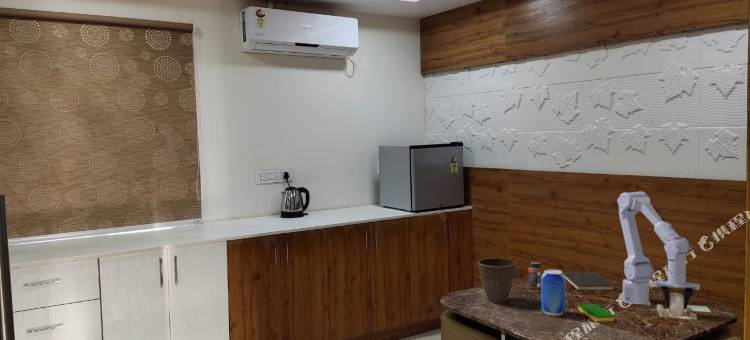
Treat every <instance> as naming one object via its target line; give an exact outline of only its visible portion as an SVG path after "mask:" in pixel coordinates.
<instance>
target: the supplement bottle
mask: <svg viewBox="0 0 750 340" xmlns="http://www.w3.org/2000/svg"><path fill="white" fill-rule="evenodd" d="M527 273H528V277H527V278H528V280H527V281H528V282H527V283H528V284H527V285H528V288H529V289H531V288H532V290H542V283H541V277H542V275H543V268H542V267H541V262H539V261H531V262H530V266H529V267H528V272H527Z"/></svg>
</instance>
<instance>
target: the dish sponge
mask: <svg viewBox="0 0 750 340" xmlns="http://www.w3.org/2000/svg"><path fill="white" fill-rule="evenodd" d="M577 306H578V308H577V310H578V311H579V310H580V311H579V312H581V313H582V312H583V313H585V314H586V315H587V316H586V315H585V314H584V315H585V316H586V317H588V316H589V317H590V318H591V320H592V321H593V320H594V321H593V322H596V323H599V322H614V321H615V315H614V314H612V313H610V312H609V311H608V310H606V309H604V308H603V307H601V306H600V305H598V304H596V303H592V304H590V303H589V304H578V305H577ZM583 313H582V314H583ZM589 317H588V318H589ZM590 318H589V319H590Z"/></svg>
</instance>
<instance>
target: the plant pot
mask: <svg viewBox="0 0 750 340" xmlns="http://www.w3.org/2000/svg"><path fill="white" fill-rule="evenodd" d="M516 264H517V263H516V261H514V260H513V259H510V258H509V259H507V258H502V257H501V258H500V257H499V258H497V257H490V258H483V259H479V261H478V268H479V269H478V271H479V273H480V279H481V282H482V286H483V289H484V292H485V294H486V298H487V300H488V301H489V303H494V304H503V303H507V302H508V298H509V296H510V293H511V291H512V286H513V283H514V277H515V271H516V266H517V265H516Z"/></svg>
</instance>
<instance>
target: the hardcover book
mask: <svg viewBox="0 0 750 340" xmlns="http://www.w3.org/2000/svg"><path fill="white" fill-rule="evenodd" d="M562 274H563V276H564V277H565V280H567V281H568V283H570V284H571V285H572V286H573V287H574V288H575V289H577V290H579V291H580V290H582V291H583V290H584V291H585V290H588V291H589V290H590V291H591V290H593V291H594V290H599V291H601V290H606V291H608V290H609V291H610V290H611V291H612V290H613V291H614V290H616V287H615V285H613V284H612V283H611V282H609V281H608V280H606V279H605V278H603V276H601V275H600V274H598V273H597V272H595V271H594V272H589V271H588V272H562Z"/></svg>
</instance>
